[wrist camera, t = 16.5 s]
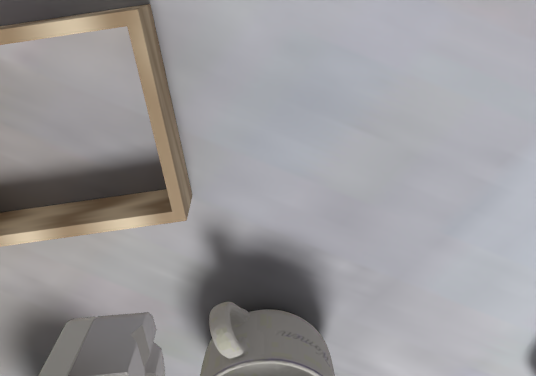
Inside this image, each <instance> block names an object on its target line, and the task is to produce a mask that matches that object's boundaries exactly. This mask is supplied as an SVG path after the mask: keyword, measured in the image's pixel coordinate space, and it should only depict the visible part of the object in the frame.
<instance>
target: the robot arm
mask: <svg viewBox="0 0 536 376" xmlns="http://www.w3.org/2000/svg"><path fill="white" fill-rule="evenodd" d="M156 330H157V329H156V326H155V322H154V319H153V316H152V315H151V314H150V313H149V312H145V313H133V314H121V315H108V316H98V317H87V318H76V319H71V320H70V321H68V322H67V323H66V324H65V326H64V328H63V330H62V332H61V334H60V336H59V338H58V339H57V341H56V343H55V345H54V347H53V349H52V351H51V353H50V355H49V356H48V358H47V360H46V362H45V364H44V366H43V368H42V370H41V372H40V373H39V375H38V376H165V366H164V358H163V354H162V349H161V348H160V347H159V346H158V345H157V344H156V343H154V338H155V334H156Z"/></svg>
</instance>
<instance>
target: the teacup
mask: <svg viewBox="0 0 536 376" xmlns="http://www.w3.org/2000/svg"><path fill="white" fill-rule="evenodd" d="M209 326H210V332H211V336H212V339H211V341H210V343H209V345H208V347H207V350H206V353H205V357H204V360H203V365H202V369H201V374H200V376H335V374H334V369H333V364H332V360H331V356H330V353H329V350H328V347H327V345H326V343H325V341H324V339H323V338H322V336H321V335H320V333H319V332H318V331H317V330H316V329H315V328H314V327H313V326H312V325H311V324H310V323H308V322H307V321H306V320H304V319H302V318H301V317H299V316H296V315H294V314H291V313H289V312H285V311H280V310H271V309H264V310H256V311H251V312H247V310H245V309H243V308H240V307H239V306H237V305H236V304H234V303H232V302H224V303H221V304H218V305H216V306H215V307H214V308H213V309H212V310H211V312H210V315H209Z"/></svg>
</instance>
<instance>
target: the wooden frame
mask: <svg viewBox="0 0 536 376" xmlns="http://www.w3.org/2000/svg"><path fill="white" fill-rule="evenodd" d="M125 26H127V27H128V31H129V35H130V39H131V43H132V47H133V52H134V56H135V60H136V64H137V68H138V72H139V76H140V80H141V85H142V89H143V93H144V97H145V101H146V105H147V109H148V114H149V118H150V122H151V126H152V130H153V134H154V138H155V142H156V147H157V151H158V155H159V159H160V163H161V167H162V171H163V175H164V180H165V184H166V188H167V189H164V190H157V191H150V192H143V193H136V194H129V195H122V196H115V197H107V198H100V199H93V200H86V201H79V202H72V203H65V204H58V205H51V206H44V207H37V208H30V209H23V210H15V211H8V212H1V213H0V247H1V246H8V245H15V244H23V243H30V242H37V241H44V240H51V239H58V238H65V237H73V236H80V235H87V234H94V233H101V232H108V231H115V230H123V229H130V228H137V227H144V226H151V225H158V224H165V223H173V222H180V221H187V216H188V212H189V208H190V203H191V199H192V192H191V187H190V183H189V178H188V174H187V169H186V164H185V160H184V155H183V151H182V146H181V142H180V137H179V133H178V128H177V124H176V119H175V114H174V110H173V105H172V101H171V96H170V92H169V87H168V83H167V78H166V74H165V69H164V65H163V60H162V55H161V51H160V46H159V42H158V37H157V33H156V28H155V24H154V19H153V15H152V10H151V5H150V4H147V5H140V6H133V7H126V8H120V9H113V10H106V11H100V12H93V13H86V14H79V15H73V16H66V17H59V18H53V19H46V20H39V21H33V22H26V23H19V24H12V25H6V26H0V45H3V44H10V43H17V42H23V41H30V40H37V39H44V38H50V37H57V36H64V35H71V34H77V33H84V32H91V31H98V30H104V29H111V28H118V27H125Z"/></svg>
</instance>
